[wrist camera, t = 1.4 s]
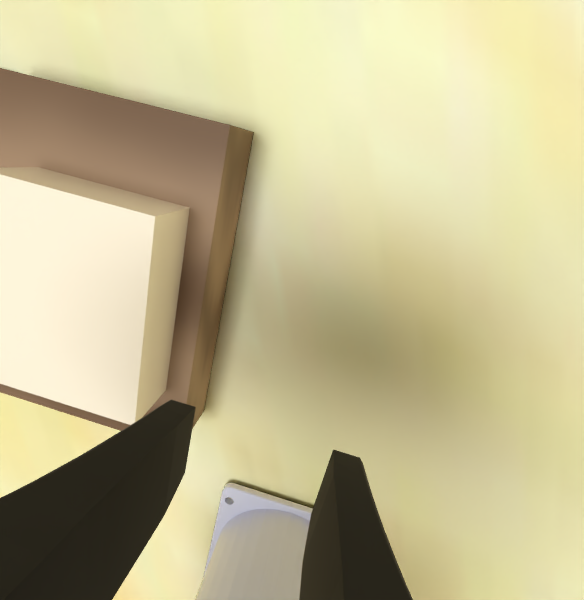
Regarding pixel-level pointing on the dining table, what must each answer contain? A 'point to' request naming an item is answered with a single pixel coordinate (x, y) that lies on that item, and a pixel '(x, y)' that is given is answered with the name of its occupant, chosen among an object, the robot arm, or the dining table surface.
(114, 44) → the dining table surface
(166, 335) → the tile
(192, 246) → the board
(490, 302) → the dining table surface
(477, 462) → the dining table surface
